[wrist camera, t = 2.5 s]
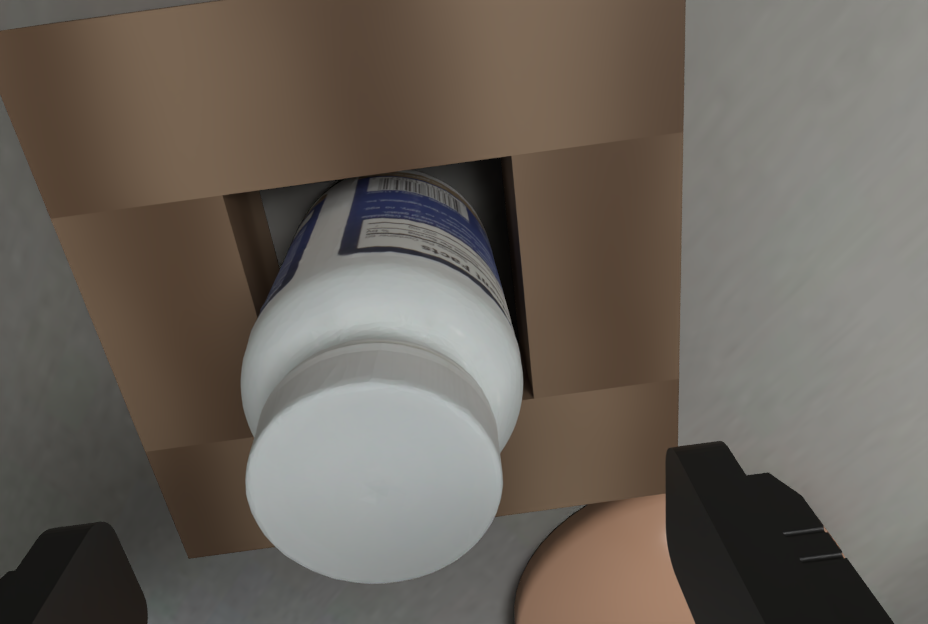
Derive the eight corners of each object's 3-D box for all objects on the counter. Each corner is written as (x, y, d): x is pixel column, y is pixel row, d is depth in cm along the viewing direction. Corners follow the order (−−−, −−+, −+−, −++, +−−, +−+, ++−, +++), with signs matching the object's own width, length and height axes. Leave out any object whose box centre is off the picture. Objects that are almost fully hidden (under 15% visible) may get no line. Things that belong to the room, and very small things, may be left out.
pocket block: (216, 488, 23) (188, 558, 20) (48, 23, 16) (-25, 34, 14) (645, 429, 23) (676, 491, 20) (642, -58, 16) (686, -64, 14)
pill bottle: (363, 372, 21) (325, 659, 12) (257, 224, 19) (117, 446, 10) (523, 290, 20) (605, 537, 11) (431, 125, 18) (444, 273, 9)
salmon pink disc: (527, 722, 29) (531, 751, 28) (498, 498, 23) (502, 523, 22) (816, 683, 29) (832, 711, 28) (853, 449, 23) (873, 472, 22)
